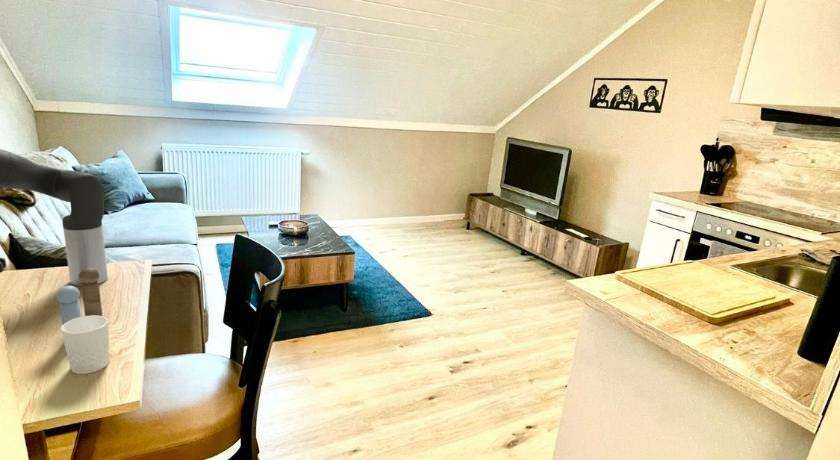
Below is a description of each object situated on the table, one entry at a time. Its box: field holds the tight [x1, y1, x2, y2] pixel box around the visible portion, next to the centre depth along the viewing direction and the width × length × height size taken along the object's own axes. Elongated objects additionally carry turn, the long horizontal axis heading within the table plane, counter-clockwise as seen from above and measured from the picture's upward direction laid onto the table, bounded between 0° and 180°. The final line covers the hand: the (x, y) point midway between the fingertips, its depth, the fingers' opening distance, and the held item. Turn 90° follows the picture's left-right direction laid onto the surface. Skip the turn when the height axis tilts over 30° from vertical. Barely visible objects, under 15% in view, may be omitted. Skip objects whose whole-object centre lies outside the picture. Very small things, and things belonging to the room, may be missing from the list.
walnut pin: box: [79, 268, 103, 316], centre depth 114 cm, size 4×4×14 cm
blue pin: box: [56, 285, 82, 327], centre depth 103 cm, size 4×4×14 cm
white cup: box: [60, 315, 110, 375], centre depth 95 cm, size 8×8×10 cm
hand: (3, 265), depth 94 cm, fingers closed
